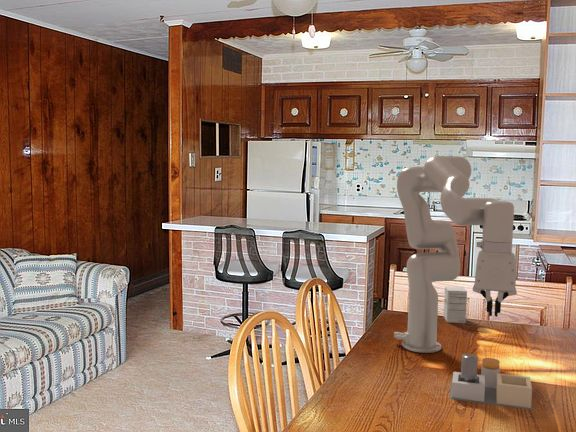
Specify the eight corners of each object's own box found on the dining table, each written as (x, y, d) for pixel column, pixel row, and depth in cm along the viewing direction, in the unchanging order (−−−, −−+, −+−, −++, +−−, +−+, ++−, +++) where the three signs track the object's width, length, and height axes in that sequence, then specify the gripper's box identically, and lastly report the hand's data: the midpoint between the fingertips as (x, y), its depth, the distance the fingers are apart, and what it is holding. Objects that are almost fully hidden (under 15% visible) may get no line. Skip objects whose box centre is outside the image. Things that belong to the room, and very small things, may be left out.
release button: (481, 384, 159) (482, 362, 159) (481, 378, 164) (482, 357, 163) (498, 386, 158) (499, 364, 157) (498, 380, 162) (499, 359, 162)
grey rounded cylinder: (459, 395, 153) (461, 358, 152) (460, 389, 157) (462, 353, 156) (475, 397, 152) (477, 359, 151) (476, 391, 156) (477, 354, 155)
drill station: (448, 404, 151) (450, 379, 151) (451, 381, 166) (452, 359, 166) (533, 415, 145) (534, 390, 145) (528, 391, 160) (529, 368, 160)
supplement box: (443, 317, 234) (444, 285, 232) (462, 318, 233) (463, 286, 232) (446, 322, 226) (447, 290, 225) (466, 323, 226) (467, 290, 224)
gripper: (466, 247, 156) (463, 315, 158) (528, 251, 151) (524, 321, 153) (467, 243, 163) (463, 309, 165) (526, 247, 158) (522, 314, 160)
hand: (493, 314), depth 159 cm, fingers closed
